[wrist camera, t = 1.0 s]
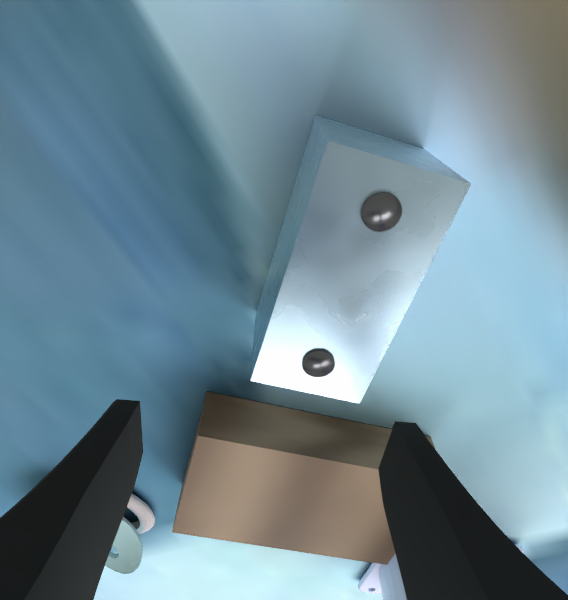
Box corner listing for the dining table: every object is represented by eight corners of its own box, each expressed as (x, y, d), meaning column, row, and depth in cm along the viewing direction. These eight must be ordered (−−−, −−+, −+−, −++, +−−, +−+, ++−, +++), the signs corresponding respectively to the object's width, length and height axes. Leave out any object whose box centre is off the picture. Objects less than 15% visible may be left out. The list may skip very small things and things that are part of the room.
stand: (430, 436, 25) (447, 482, 22) (377, 518, 29) (387, 564, 26) (206, 391, 23) (197, 435, 20) (182, 485, 27) (172, 532, 24)
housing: (422, 147, 17) (472, 184, 13) (343, 330, 21) (360, 405, 17) (315, 114, 16) (328, 141, 12) (256, 310, 21) (250, 382, 16)
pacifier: (75, 456, 26) (29, 507, 28) (25, 563, 21) (-28, 615, 23) (177, 506, 29) (128, 548, 31) (156, 612, 23) (98, 655, 25)
